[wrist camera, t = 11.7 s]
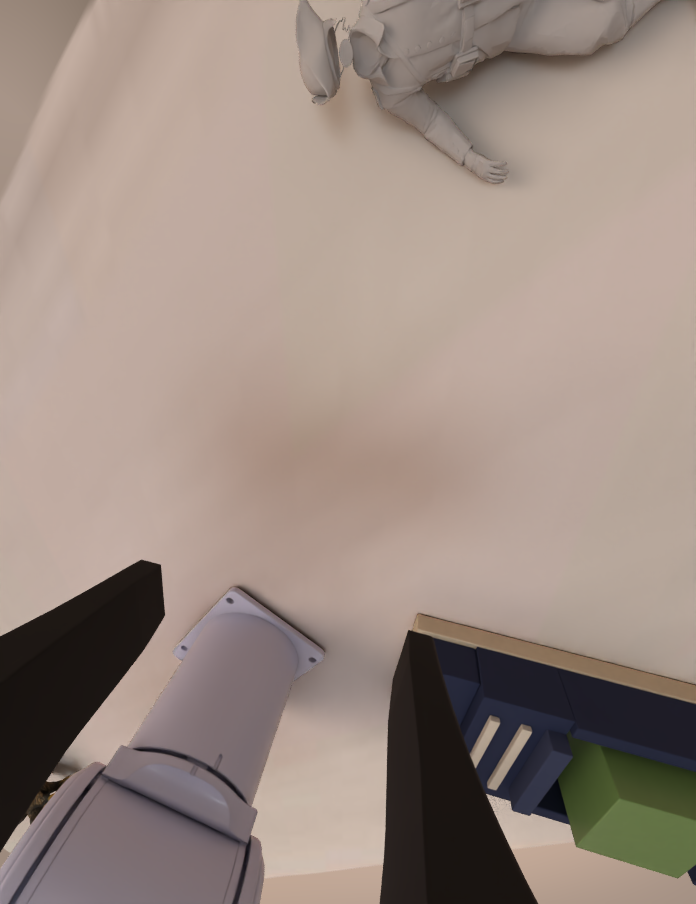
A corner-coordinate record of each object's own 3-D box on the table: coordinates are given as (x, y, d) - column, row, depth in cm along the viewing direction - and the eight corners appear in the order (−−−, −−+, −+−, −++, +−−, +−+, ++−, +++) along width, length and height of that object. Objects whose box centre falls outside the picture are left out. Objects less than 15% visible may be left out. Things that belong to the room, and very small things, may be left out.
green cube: (629, 765, 23) (678, 879, 19) (547, 741, 24) (575, 847, 19) (671, 717, 21) (737, 833, 17) (579, 693, 22) (619, 799, 17)
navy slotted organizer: (731, 694, 21) (825, 817, 16) (657, 772, 25) (715, 893, 20) (417, 613, 23) (415, 701, 18) (390, 697, 27) (383, 790, 22)
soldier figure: (678, 122, 13) (364, 258, 13) (590, 68, 15) (320, 186, 16) (963, -434, 6) (299, -137, 6) (732, -392, 8) (235, -169, 8)
